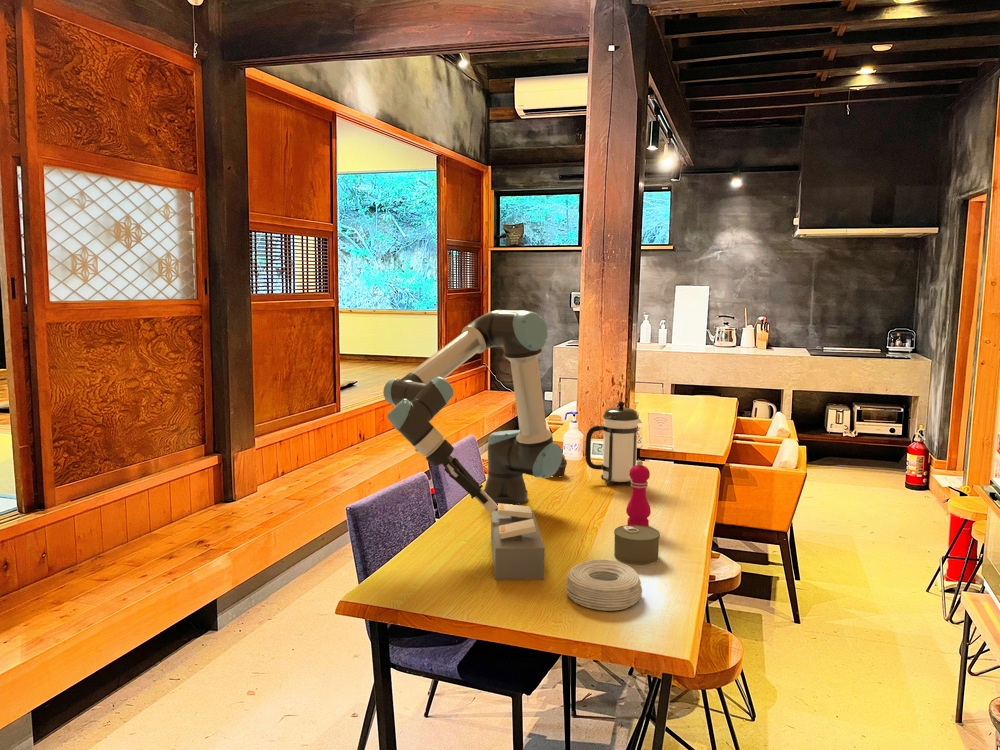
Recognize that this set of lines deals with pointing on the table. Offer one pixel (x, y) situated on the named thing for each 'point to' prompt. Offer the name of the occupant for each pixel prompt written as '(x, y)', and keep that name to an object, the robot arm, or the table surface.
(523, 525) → the rocker
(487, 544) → the table surface
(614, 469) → the coffee press
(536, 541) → the rocker switch box
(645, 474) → the pepper mill
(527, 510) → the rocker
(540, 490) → the table surface
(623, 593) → the cable
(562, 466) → the cupcake
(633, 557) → the can
